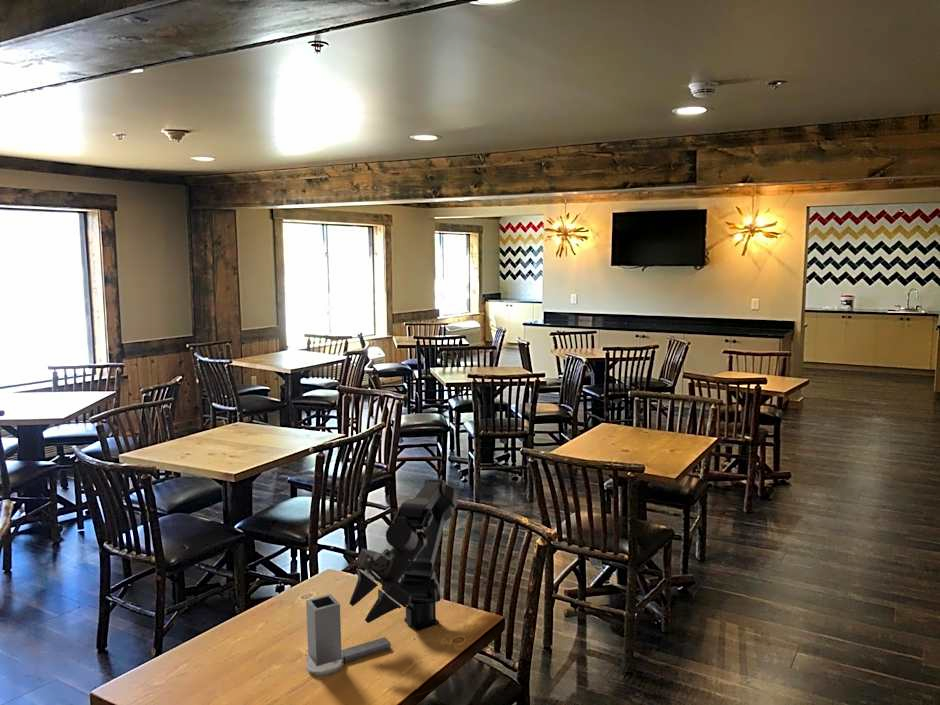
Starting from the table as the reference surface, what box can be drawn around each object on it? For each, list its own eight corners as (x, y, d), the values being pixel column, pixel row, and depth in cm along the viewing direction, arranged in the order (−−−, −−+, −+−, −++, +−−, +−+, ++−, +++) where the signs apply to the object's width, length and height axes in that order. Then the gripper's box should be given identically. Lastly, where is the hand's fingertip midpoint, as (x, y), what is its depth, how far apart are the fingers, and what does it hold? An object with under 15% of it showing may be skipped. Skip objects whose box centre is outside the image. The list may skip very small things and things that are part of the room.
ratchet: (313, 679, 149) (312, 659, 149) (301, 662, 156) (300, 642, 156) (395, 654, 159) (395, 635, 158) (380, 638, 166) (380, 620, 165)
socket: (332, 647, 158) (330, 594, 157) (341, 658, 154) (339, 604, 152) (308, 654, 155) (306, 600, 154) (316, 666, 151) (314, 610, 149)
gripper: (362, 523, 166) (319, 579, 162) (396, 550, 150) (348, 612, 146) (394, 548, 171) (352, 603, 167) (429, 576, 155) (384, 638, 151)
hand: (358, 613), depth 158 cm, fingers open, 9 cm apart
